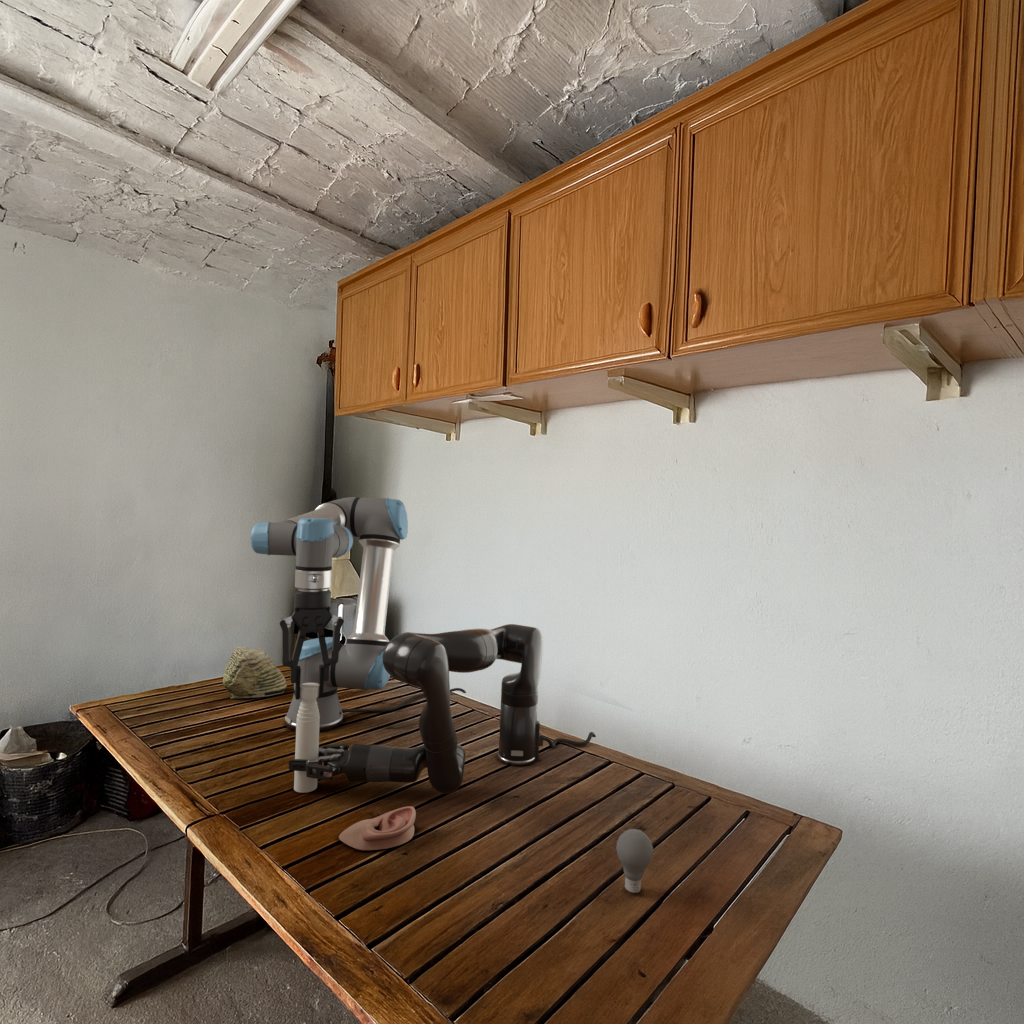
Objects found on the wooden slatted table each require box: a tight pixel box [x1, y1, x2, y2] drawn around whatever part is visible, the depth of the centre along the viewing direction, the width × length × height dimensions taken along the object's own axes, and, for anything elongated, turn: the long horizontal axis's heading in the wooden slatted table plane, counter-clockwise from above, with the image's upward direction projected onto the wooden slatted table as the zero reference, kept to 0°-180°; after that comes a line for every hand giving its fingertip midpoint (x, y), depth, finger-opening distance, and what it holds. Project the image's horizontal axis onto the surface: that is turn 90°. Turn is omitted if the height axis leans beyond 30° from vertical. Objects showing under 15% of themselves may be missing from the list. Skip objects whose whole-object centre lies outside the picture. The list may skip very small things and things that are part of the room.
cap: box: [300, 683, 319, 699], centre depth 137 cm, size 4×4×2 cm
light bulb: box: [615, 828, 654, 894], centre depth 106 cm, size 6×6×10 cm
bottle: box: [293, 698, 320, 794], centre depth 137 cm, size 5×5×22 cm
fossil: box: [222, 646, 288, 699], centre depth 198 cm, size 9×18×15 cm, turn 132°
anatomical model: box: [338, 805, 417, 851], centre depth 119 cm, size 13×4×12 cm
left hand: (308, 696), depth 137 cm, fingers closed on cap, 4 cm apart
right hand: (294, 759), depth 137 cm, fingers closed on bottle, 5 cm apart
